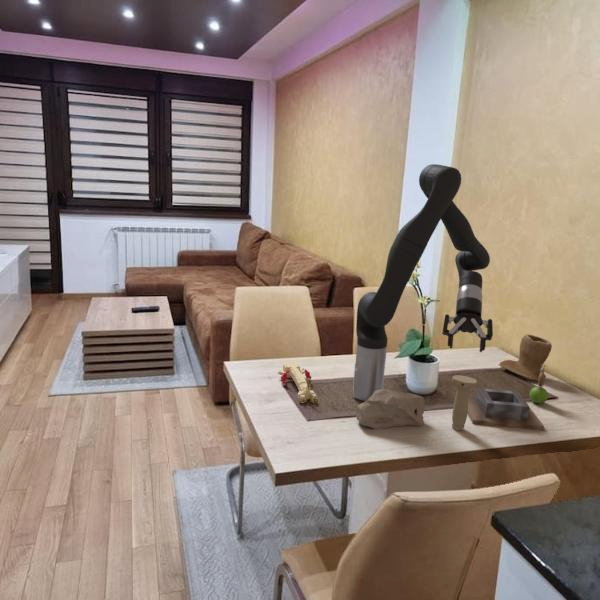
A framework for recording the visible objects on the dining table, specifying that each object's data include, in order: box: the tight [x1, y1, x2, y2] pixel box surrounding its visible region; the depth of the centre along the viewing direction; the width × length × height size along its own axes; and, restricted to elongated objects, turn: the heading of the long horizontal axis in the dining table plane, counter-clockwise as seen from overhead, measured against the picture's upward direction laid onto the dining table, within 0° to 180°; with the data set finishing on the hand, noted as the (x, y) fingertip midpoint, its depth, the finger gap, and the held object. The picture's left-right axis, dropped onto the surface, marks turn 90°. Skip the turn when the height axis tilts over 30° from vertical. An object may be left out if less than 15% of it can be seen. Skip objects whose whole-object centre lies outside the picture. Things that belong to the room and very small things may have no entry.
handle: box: [451, 374, 478, 431], centre depth 146 cm, size 5×6×15 cm
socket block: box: [467, 387, 545, 431], centre depth 158 cm, size 20×16×6 cm
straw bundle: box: [277, 362, 319, 404], centre depth 169 cm, size 10×9×25 cm
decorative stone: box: [355, 388, 426, 430], centre depth 148 cm, size 20×8×10 cm, turn 105°
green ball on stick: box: [528, 364, 549, 405], centre depth 167 cm, size 5×6×12 cm
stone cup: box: [498, 334, 553, 381], centre depth 191 cm, size 15×12×15 cm
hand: (466, 349), depth 154 cm, fingers open, 8 cm apart
